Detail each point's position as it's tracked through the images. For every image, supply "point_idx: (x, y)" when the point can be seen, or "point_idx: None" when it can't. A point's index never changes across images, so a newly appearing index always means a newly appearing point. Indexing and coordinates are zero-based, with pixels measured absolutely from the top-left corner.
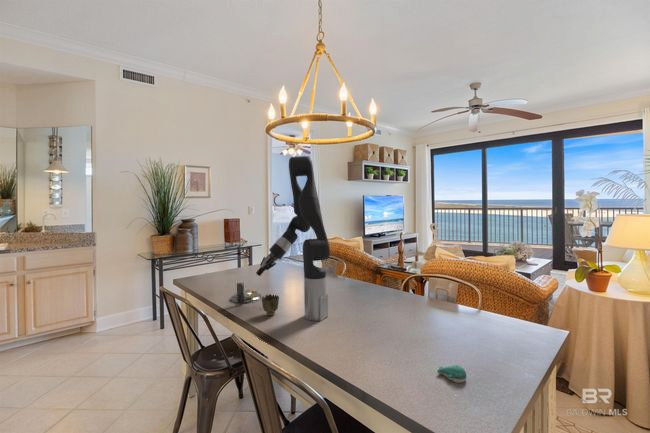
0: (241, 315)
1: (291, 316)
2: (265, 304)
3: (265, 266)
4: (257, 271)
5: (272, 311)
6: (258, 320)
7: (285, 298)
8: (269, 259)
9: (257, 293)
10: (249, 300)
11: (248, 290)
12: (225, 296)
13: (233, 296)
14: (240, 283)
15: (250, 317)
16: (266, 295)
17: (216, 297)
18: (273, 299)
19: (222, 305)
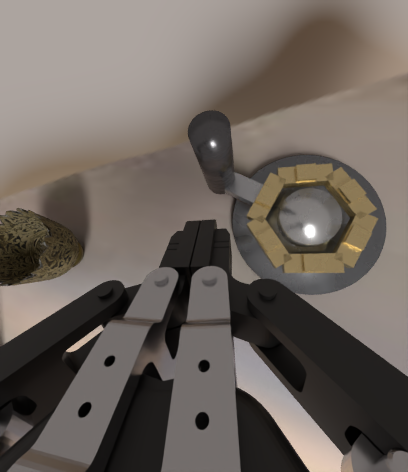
0: (122, 171)
1: (25, 310)
2: (21, 222)
3: (85, 297)
4: (200, 228)
5: (39, 251)
6: (57, 207)
7: None
8: (50, 467)
9: (283, 269)
10: (237, 221)
11: (347, 236)
12: (386, 145)
13: (336, 169)
14: (210, 131)
15: (91, 192)
16: (44, 239)
17: (387, 109)
18: (48, 270)
19: (255, 126)
